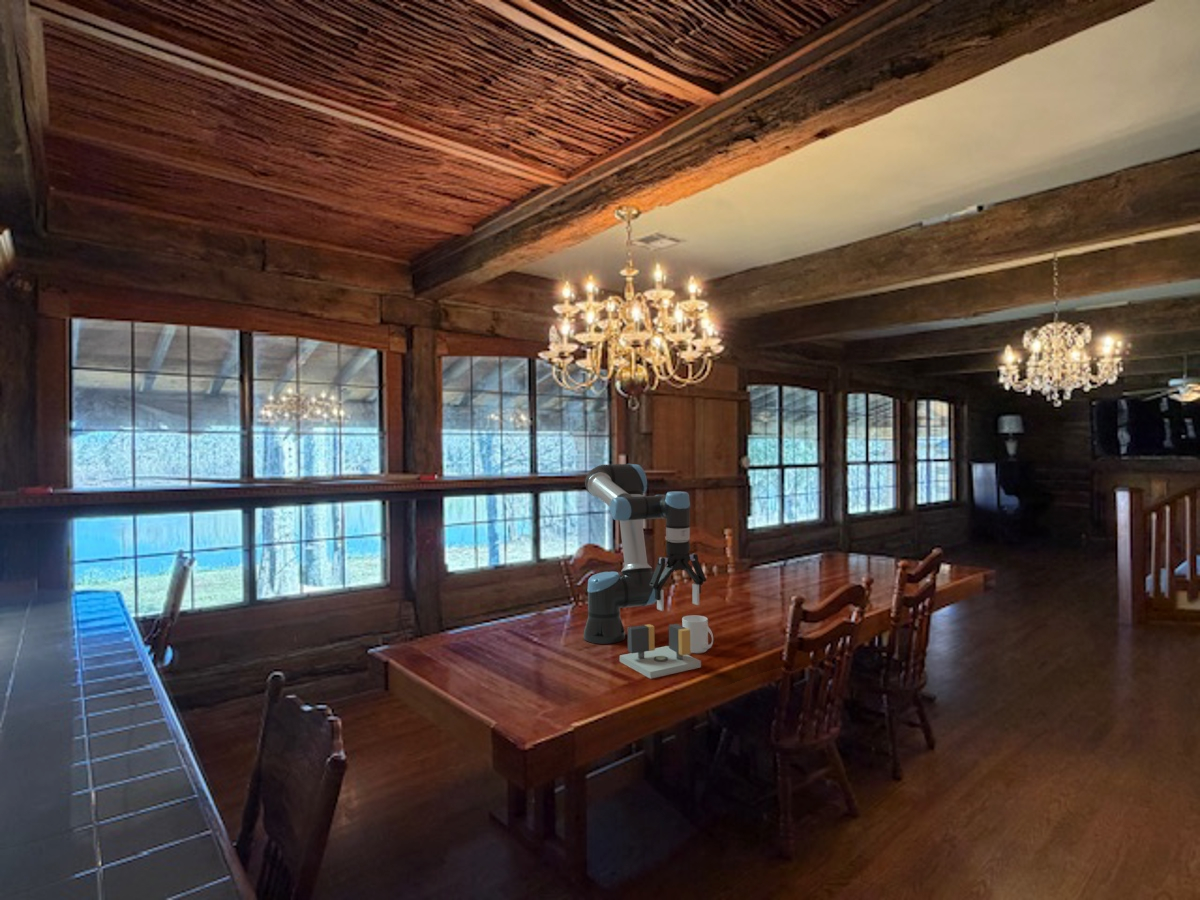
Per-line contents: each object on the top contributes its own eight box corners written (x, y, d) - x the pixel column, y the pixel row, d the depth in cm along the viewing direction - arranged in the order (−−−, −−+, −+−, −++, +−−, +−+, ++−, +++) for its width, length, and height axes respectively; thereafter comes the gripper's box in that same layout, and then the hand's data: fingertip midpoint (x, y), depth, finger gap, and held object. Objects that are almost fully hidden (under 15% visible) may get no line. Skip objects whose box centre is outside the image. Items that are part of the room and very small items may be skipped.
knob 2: (669, 655, 205) (668, 624, 205) (677, 653, 206) (676, 623, 206) (682, 662, 198) (681, 631, 198) (690, 661, 199) (690, 629, 199)
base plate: (619, 661, 206) (619, 653, 206) (667, 651, 216) (667, 643, 216) (650, 678, 191) (650, 669, 191) (700, 667, 200) (700, 658, 200)
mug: (704, 658, 208) (704, 625, 208) (677, 649, 218) (677, 618, 218) (721, 652, 214) (720, 620, 214) (694, 644, 223) (693, 613, 223)
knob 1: (631, 660, 200) (631, 629, 200) (627, 657, 203) (627, 627, 203) (654, 657, 203) (654, 626, 203) (650, 654, 206) (650, 624, 206)
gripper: (650, 545, 193) (651, 615, 193) (716, 538, 204) (717, 604, 205) (638, 542, 199) (638, 609, 200) (702, 535, 211) (703, 599, 211)
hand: (678, 607), depth 202 cm, fingers open, 13 cm apart
